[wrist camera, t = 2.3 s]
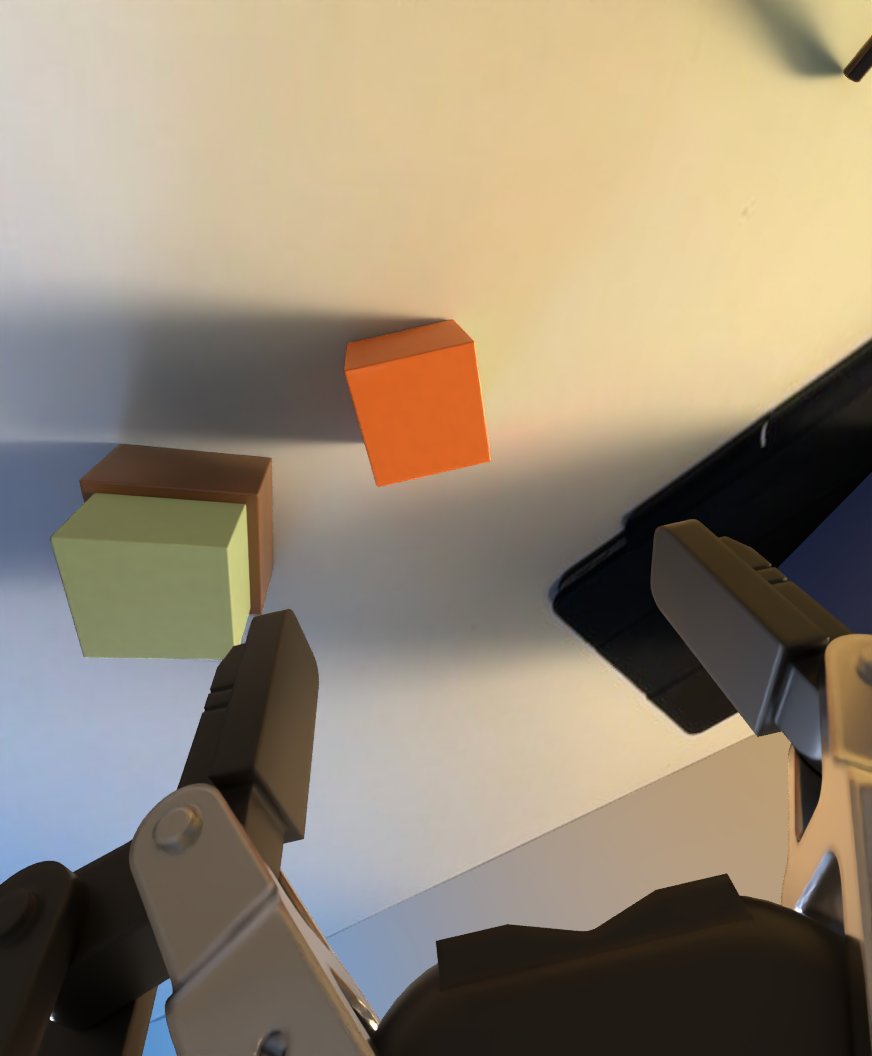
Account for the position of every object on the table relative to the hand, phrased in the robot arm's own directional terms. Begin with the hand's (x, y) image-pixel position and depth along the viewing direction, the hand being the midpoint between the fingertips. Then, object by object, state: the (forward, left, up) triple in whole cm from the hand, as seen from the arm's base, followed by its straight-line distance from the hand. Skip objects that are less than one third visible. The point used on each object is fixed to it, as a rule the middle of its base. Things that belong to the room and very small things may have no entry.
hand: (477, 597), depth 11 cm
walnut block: (-10, -8, -16) cm, 20 cm away
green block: (-10, -8, -12) cm, 17 cm away
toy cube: (0, 0, -16) cm, 16 cm away
